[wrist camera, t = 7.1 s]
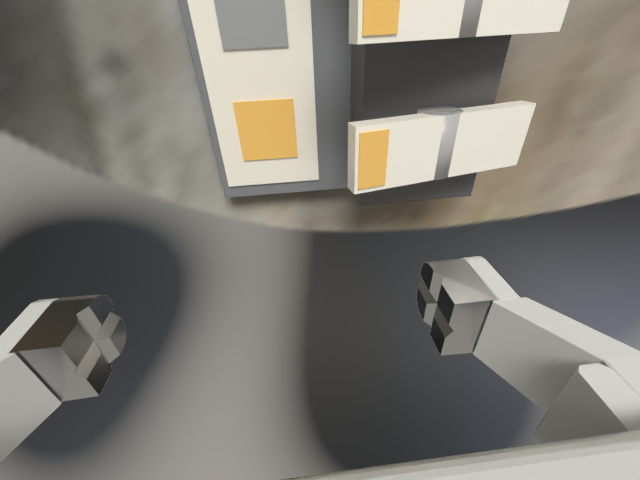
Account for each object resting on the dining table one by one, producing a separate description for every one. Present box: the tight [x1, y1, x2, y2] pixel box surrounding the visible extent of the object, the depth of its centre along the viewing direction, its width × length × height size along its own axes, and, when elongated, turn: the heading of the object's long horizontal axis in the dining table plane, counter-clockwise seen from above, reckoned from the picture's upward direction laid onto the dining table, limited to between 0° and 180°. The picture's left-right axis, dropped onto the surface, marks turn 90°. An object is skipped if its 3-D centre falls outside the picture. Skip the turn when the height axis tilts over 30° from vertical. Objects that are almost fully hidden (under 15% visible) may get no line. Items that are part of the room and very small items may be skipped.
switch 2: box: [348, 101, 536, 194], centre depth 18 cm, size 11×4×2 cm, turn 93°
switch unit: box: [179, 0, 511, 205], centre depth 18 cm, size 18×24×6 cm
